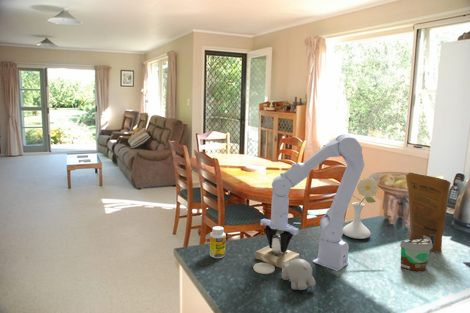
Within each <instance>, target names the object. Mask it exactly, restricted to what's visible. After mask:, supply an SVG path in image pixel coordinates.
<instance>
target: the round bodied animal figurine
mask: <svg viewBox="0 0 470 313" xmlns="http://www.w3.org/2000/svg"><path fill="white" fill-rule="evenodd" d="M282 265H283V268H281V278H282V280H285V281H288V280H290V281H291V284H290V287H291V289H292V290H295V291H297V290H299V291H303V290H307V288H308V287H309V288H311V287H315V286H316V280H315V278H314V277H313V268H312V266H311V264H310V262H308V261H307V260H305V259H303V258H299V259H295V260H293V261H291V262H290V263H289V264H287V265H285V264H282Z"/></svg>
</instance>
